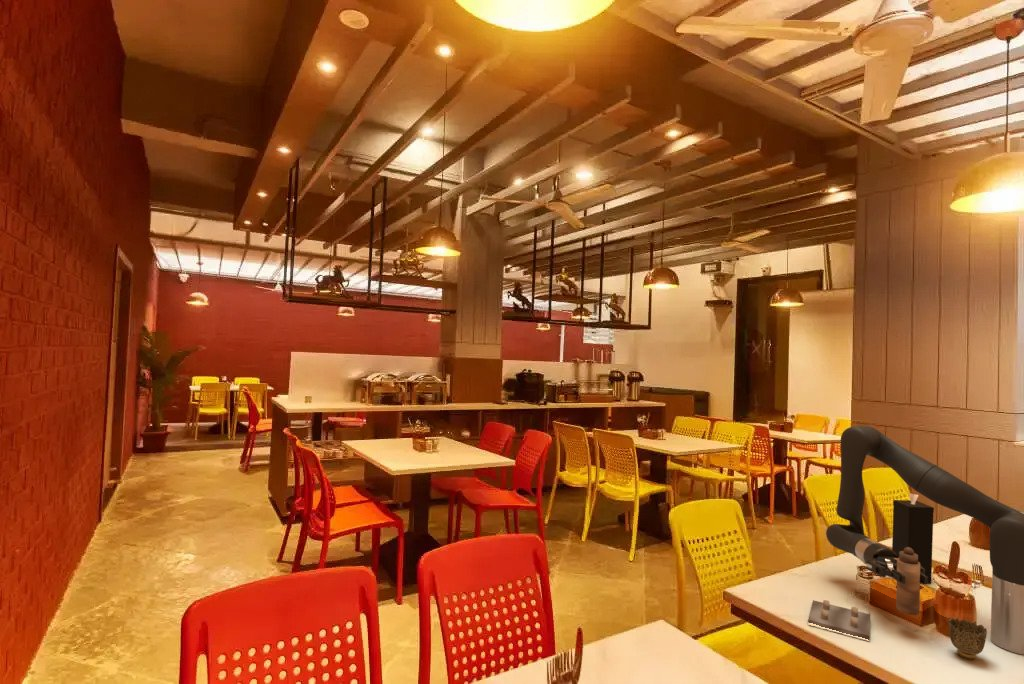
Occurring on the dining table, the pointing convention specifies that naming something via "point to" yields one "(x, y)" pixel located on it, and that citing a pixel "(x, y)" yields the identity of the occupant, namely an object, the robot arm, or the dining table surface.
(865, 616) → the board
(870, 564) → the robot arm
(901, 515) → the tissue box
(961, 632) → the cup
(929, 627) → the dining table surface
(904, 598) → the pepper mill
